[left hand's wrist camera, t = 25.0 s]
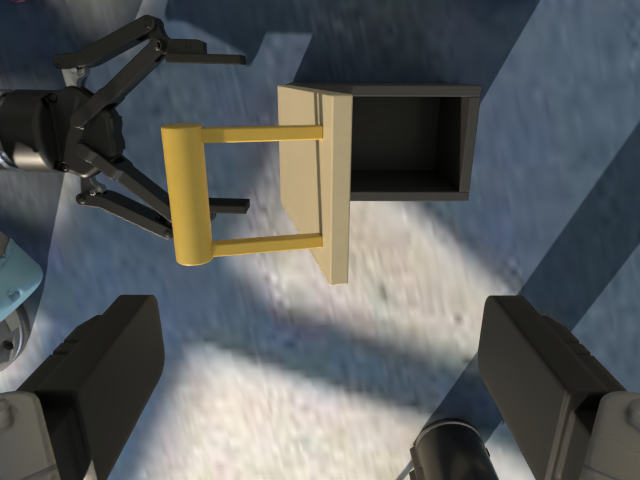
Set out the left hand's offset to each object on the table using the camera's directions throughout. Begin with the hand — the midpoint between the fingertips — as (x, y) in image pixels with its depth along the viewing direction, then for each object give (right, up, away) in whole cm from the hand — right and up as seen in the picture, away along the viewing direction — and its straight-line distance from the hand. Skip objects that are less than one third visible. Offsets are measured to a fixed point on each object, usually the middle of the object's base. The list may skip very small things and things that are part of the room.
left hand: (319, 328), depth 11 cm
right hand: (-7, +12, +32) cm, 35 cm away
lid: (0, +7, +20) cm, 21 cm away
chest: (+5, +14, +38) cm, 41 cm away
